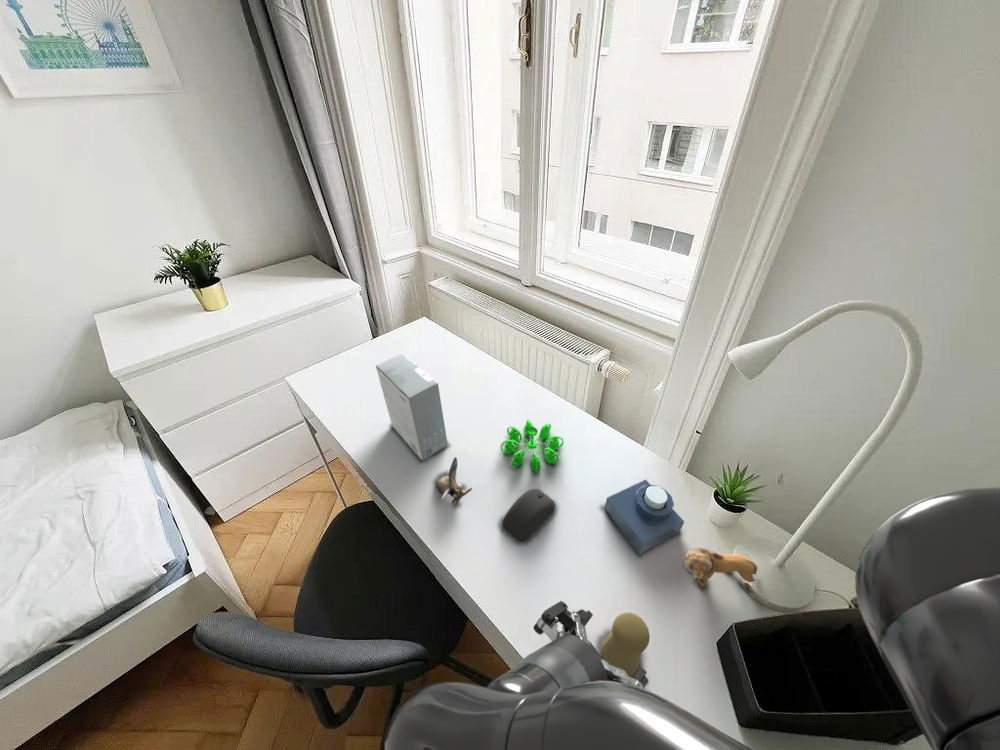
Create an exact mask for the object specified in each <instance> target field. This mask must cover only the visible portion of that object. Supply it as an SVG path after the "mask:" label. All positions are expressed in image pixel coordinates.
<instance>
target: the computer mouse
mask: <svg viewBox="0 0 1000 750" xmlns="http://www.w3.org/2000/svg"><path fill="white" fill-rule="evenodd" d="M555 508H556V503H555V501H554V499H552V498H551V497H550V496H548V495H547V494H545V492H542V491H541V490H540V489H538V488H532V489H529V490H527V491H525V492H523V493H522V494H521V495H520V496H519V497H518V498H517V499H516V500H515V502H514V503H512V505H511V506H510V508H509V509H508V510H507V512H506V514H505V516H504V517H503V519H502V522H501V524H502V525H501V526H502V528H503V529H504V531H506V532H507V533H508V534H509V535H510V536H512V537H513V538H514V539H515V540H516V541H518V542H526V541H527V540H529V539H530V538H531V536H532V535H533V534H534V533H535V532H536V531H537V530H538V529H539V528H540V527H541V526H542V524H544V522H545V521H546V520H547V519H548V518H549V517H550V516H551V515H552V514H553V512H554V511H555Z"/></svg>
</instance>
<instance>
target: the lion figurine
mask: <svg viewBox="0 0 1000 750" xmlns="http://www.w3.org/2000/svg"><path fill="white" fill-rule="evenodd" d="M684 566H685V569H686V570H687V571H689V572H690V573H692V575H693V578H695V579H698V580H697V582H698V584H699V585H700V586H701V587H704V586H706V585H707V582H708V581H709V579H710V578H712V576H713V575H714V574H715V573H718V574H728V573H733V572H736V573H737V574H738V575H739V577H741V579H743V580H744V582H743V584H744V586H745V587H746V588H748V589H750V588H752V587H751V586H750V585H749V584H748V583H747V582H746V581H748V582H754V581H755V582H756V578H755V577H753V576H754V575H753V574H755V575H757V573H758V565H757V564H756V562H755V561H753V560H752V559H751V558H750V557H749V556H747V555H745V554H742V553H731V554H730V553H721V552H714V551H713V550H710V548H709V549H708V548H706V547H705V548H704V547H695V548H692V549H690V550H689V551H688V552H687V554H686V555H685V561H684ZM756 572H757V573H756Z"/></svg>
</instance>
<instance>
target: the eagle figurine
mask: <svg viewBox="0 0 1000 750" xmlns="http://www.w3.org/2000/svg"><path fill="white" fill-rule="evenodd" d="M457 469H458V458H457V457H456V456H454V458H453V459H452V463H451V465H450V468H449V470H448V473H445V474H444V473H443V474H442V475H440V476H439V478H438V479H436V481H435V482H434V483H435V484H434V485H435V488H436V490H437V491H436V492H437V493H438V494H439V495H442V497H441V498H440V500H443V499H445V497H446V496H447V495H450V496H451V497H452V499H453V500H452V501H451V503H452V504H454V503H455V505H456V506H458V505H459V502H460V501H461V499H462V498H464V497H465V496H466V495H468V494H469V493H470V492H472V489H473V488H472V487H470V488H469V489H467V490H465V491H464V492H463V490H462V489H463V488H464V487H463V486H462V484H461V483H458V482H457V479H456V477H457Z"/></svg>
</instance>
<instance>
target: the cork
mask: <svg viewBox="0 0 1000 750" xmlns="http://www.w3.org/2000/svg"><path fill="white" fill-rule="evenodd" d="M649 643H650V631H649V627H648V625H647V623H646V622H645V621H644V619H642V617H640V616H639V615H637V614H636V613H633V612H623V613H622V612H621V613H620V614H619V615H617V616H616V617H615V619H614V621H613V623H612V627H611V631H610V632H609V633H608V635H607V636H606V637H604V639H603V641H602V643H601V647H600V653H601V654H600V655H601V656H602V657H603V658H604V659H605V660H606V661H607V662H608V663H609V664H610V665H612V666H615V667H617V668H620V669H622V670H625V672H626V674H627V676H629V677H632V676H634V674H635V673H636V672H638V669H639V666H640V662H641V656H642V653H643V652H644V651H645V650H646V649H647V648H648V645H649Z"/></svg>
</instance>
